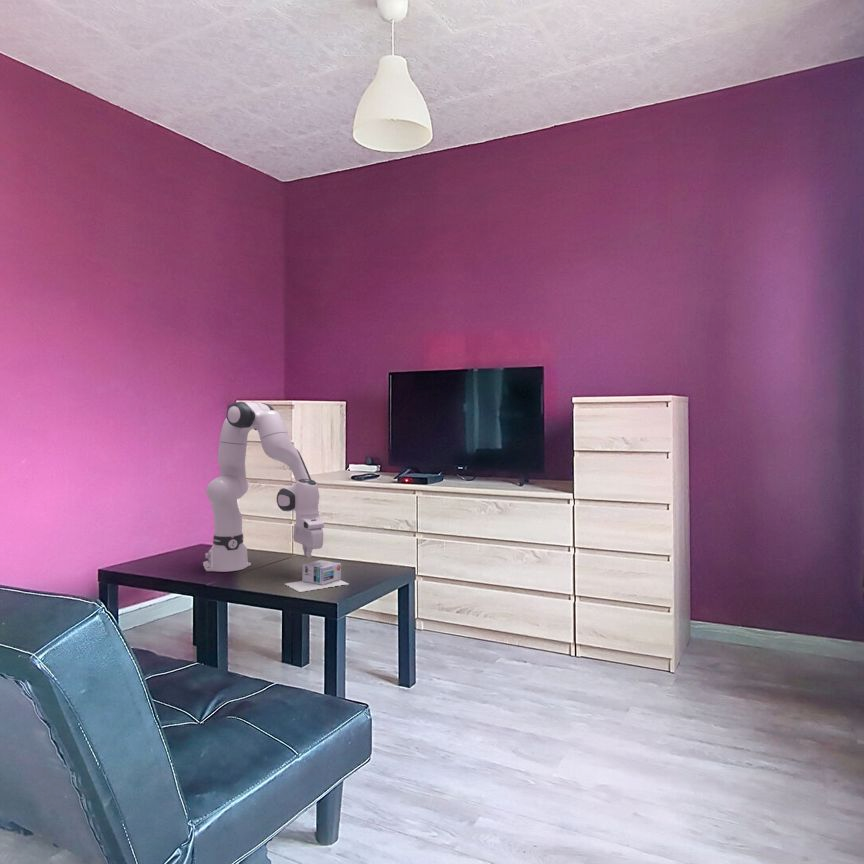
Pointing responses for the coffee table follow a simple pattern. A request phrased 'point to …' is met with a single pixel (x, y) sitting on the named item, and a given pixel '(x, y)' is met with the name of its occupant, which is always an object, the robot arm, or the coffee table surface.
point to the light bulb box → (321, 572)
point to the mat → (313, 585)
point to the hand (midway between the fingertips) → (307, 556)
